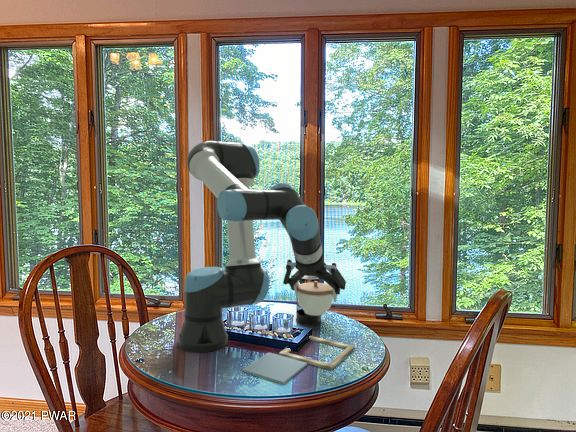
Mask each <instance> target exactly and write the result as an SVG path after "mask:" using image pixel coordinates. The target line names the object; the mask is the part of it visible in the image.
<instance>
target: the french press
mask: <svg viewBox="0 0 576 432" xmlns="http://www.w3.org/2000/svg"><path fill="white" fill-rule="evenodd" d="M321 280H322V279H319V278H318V277H317V276H306V275H305V276H304V277H303V278H301V279H300V280H299V281H298V283H299V284H303V282H304V281H308V283H311V282H313V283H314V281H318V283H322V282H321ZM321 317H322V315H319V316H313V315H308V314H306V313H305V312H304V310H303V309H302V308H301V307H300V305H299V301H298V298H296V317H295V323H297V324H300V325H301V326H316V325H319V324H321V322H322V320H321V319H322V318H321Z"/></svg>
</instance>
